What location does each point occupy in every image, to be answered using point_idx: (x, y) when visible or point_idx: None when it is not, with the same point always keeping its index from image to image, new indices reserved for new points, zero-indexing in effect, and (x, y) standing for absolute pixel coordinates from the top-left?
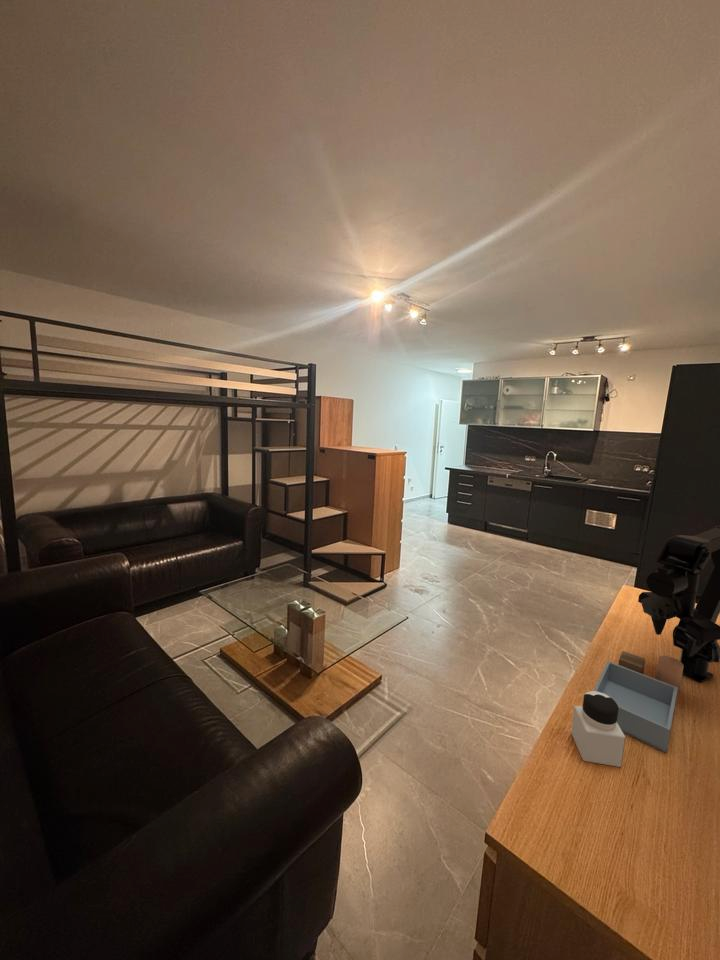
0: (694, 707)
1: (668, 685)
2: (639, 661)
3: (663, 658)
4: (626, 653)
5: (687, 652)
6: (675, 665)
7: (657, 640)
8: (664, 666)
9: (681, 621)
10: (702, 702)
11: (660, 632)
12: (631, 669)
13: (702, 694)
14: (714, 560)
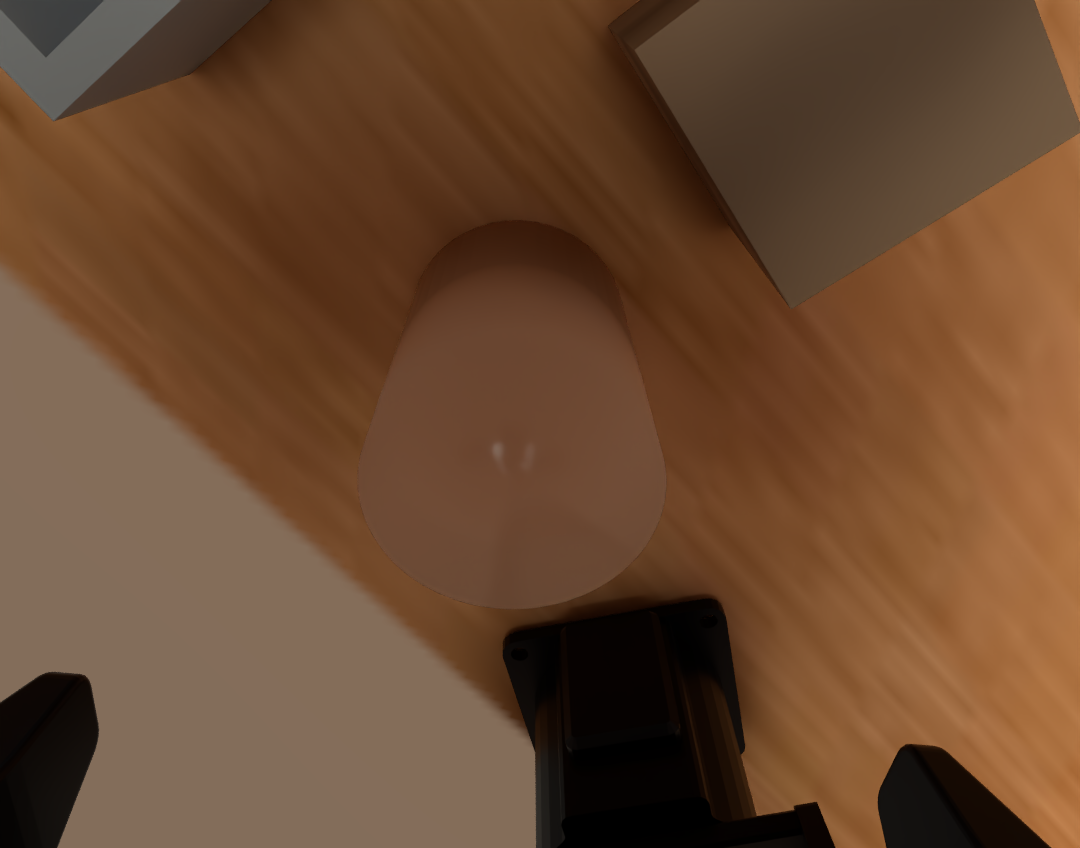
0: (206, 305)
1: (99, 8)
2: (771, 158)
3: (605, 464)
4: (1004, 125)
5: (24, 728)
6: (427, 482)
7: (1041, 785)
8: (476, 337)
9: None
10: (274, 439)
11: (898, 840)
12: None
13: None
14: None
